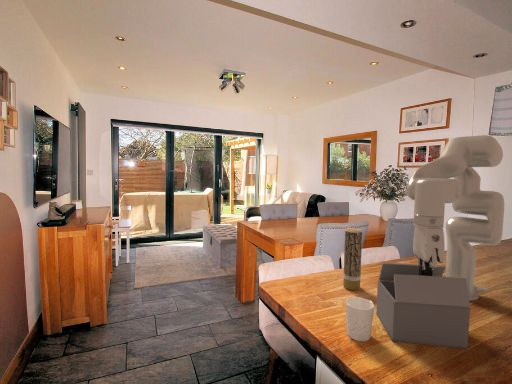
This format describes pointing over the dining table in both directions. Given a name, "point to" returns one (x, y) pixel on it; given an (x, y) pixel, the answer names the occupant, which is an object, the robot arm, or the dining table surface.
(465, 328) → the carton
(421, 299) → the flap
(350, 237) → the paper tube
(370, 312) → the white cup
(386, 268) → the flap
